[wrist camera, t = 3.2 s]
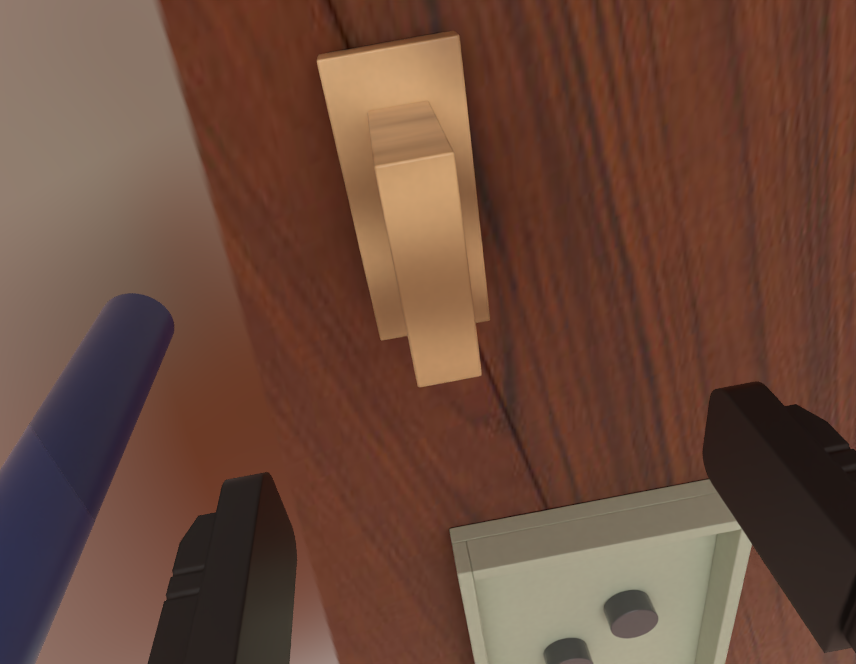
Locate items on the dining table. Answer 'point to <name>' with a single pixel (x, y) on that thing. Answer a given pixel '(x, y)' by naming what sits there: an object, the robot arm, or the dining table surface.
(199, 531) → the robot arm
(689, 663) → the tray
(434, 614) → the dining table surface
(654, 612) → the pebble
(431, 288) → the wooden board eraser
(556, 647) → the pebble
